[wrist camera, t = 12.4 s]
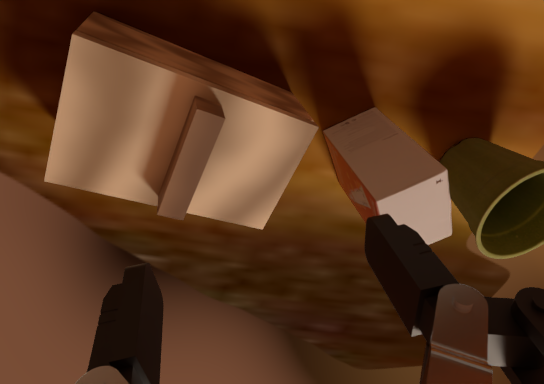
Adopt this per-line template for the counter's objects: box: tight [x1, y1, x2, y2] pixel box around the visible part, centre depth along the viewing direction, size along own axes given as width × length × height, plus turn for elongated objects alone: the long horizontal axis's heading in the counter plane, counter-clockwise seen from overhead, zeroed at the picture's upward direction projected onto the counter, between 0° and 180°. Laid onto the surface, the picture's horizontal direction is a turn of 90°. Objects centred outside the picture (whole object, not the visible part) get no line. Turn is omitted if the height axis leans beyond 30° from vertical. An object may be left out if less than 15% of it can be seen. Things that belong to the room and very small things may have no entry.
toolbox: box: [76, 11, 314, 121], centre depth 32 cm, size 18×11×7 cm, turn 64°
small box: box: [323, 107, 452, 245], centre depth 36 cm, size 8×6×13 cm
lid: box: [44, 30, 319, 229], centre depth 28 cm, size 18×11×4 cm, turn 64°
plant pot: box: [440, 138, 544, 259], centre depth 42 cm, size 12×12×11 cm
